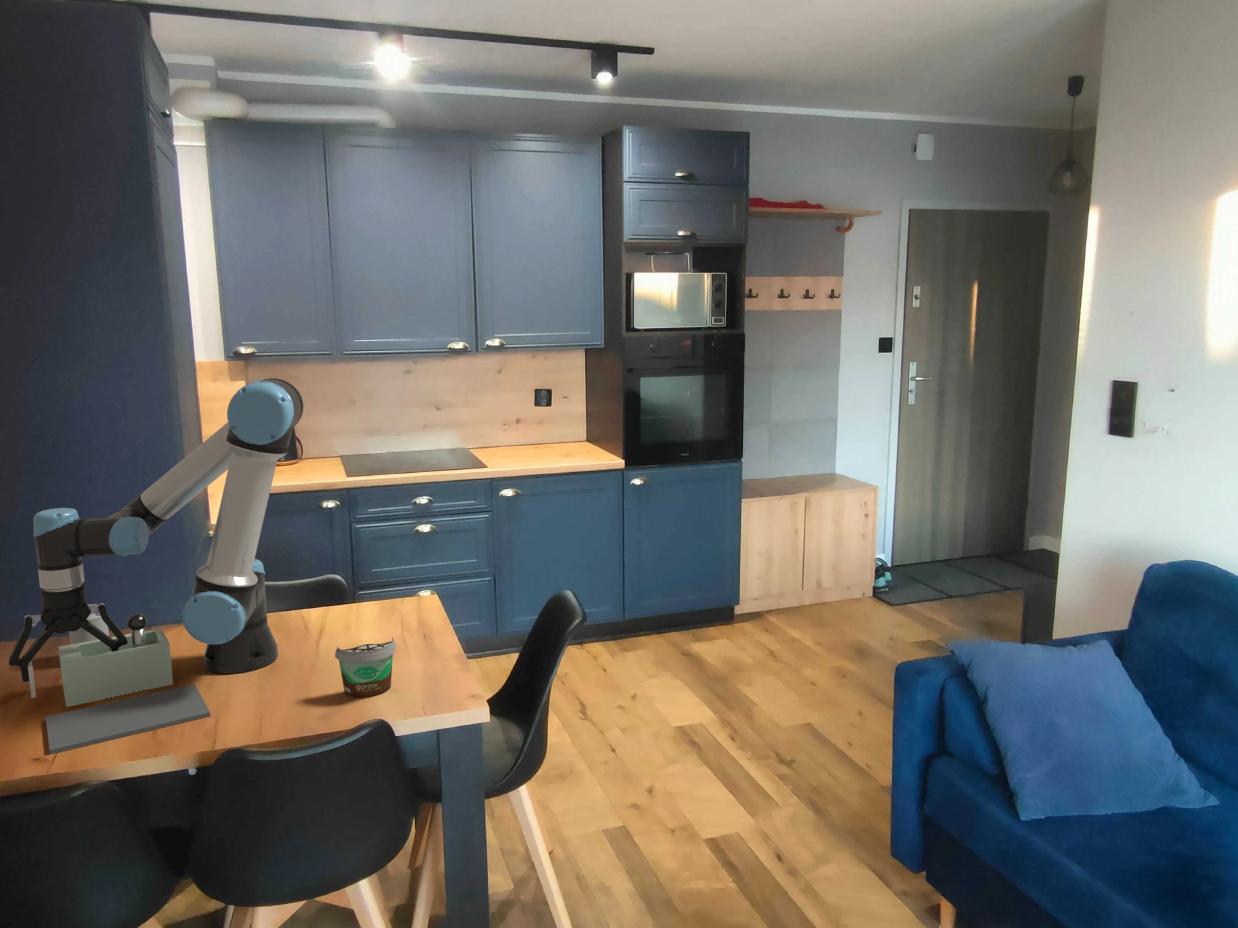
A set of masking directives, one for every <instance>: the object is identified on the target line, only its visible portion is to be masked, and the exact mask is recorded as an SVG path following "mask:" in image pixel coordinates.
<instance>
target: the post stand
mask: <svg viewBox="0 0 1238 928" xmlns="http://www.w3.org/2000/svg"><path fill="white" fill-rule="evenodd" d="M126 623H127V627H128V629H130V632H131V633H130V634H132V643H133V648H135V647H140V646H146V641H145V631H146V630H145V628H146V626H147V623H148V619H147V617H146V616H145V615H144V614H142V613H133V614H131V615H130V616H128V618H127V622H126Z"/></svg>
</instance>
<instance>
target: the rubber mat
mask: <svg viewBox="0 0 1238 928" xmlns="http://www.w3.org/2000/svg"><path fill="white" fill-rule="evenodd" d="M208 716H209V717H211V711H210V710H209V708H208V706H207V704H206V702H205V700H204V698H203V696H202V695H201V692H200V690H199V689H198V687H197V685H196V683H195V684H189V685H185V686H180V687H175V688H172V689H167V690H162V691H157V692H152V693H148V694H144V695H143V694H142V695H138V696H134V697H128V698H125V699H121V700H116V701H111V702H106V703H102V704H97V705H92V706H88V707H87V706H86V707H84V708H78V709H74V710H68V711H64V712H60V713H54V714H50V715H46V716H45V725H46V731H47V741H48V750H49V755H52V754H53V755H54V754H57V753H61V752H66V751H70V750H73V749H74V750H75V749H78V748H83V747H87V746H90V745H95V744H99V743H104V742H108V741H112V740H115V739H121V738H125V737H129V736H133V735H137V734H142V733H145V731H146V732H149V731H154V730H158V729H162V727H163V728H166V727H165V726H167V727H171V726H174V724H175V725H178V723H179V724H184V723H186V721H188V722H192V721H196V720H200V719H204V718H203V717H205V718H208ZM199 718H200V719H199ZM195 719H196V720H195ZM191 720H192V721H191ZM183 722H184V723H183ZM170 725H171V726H170Z"/></svg>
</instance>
